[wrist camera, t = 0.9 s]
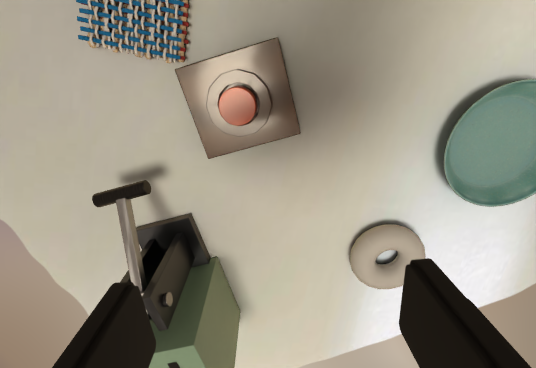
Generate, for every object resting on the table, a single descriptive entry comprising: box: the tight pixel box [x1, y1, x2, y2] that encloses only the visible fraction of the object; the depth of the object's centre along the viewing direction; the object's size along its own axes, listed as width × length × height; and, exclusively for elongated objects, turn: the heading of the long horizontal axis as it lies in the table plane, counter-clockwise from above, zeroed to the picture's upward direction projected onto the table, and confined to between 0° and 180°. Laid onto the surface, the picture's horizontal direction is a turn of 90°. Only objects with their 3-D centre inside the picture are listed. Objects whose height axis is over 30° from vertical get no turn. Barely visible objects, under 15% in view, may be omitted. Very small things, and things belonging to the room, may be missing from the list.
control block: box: [175, 37, 301, 159], centre depth 30 cm, size 10×11×4 cm
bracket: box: [120, 213, 210, 331], centre depth 34 cm, size 8×8×13 cm
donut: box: [350, 225, 425, 289], centre depth 38 cm, size 10×3×10 cm
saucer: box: [444, 79, 536, 207], centre depth 33 cm, size 15×15×3 cm
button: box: [219, 86, 257, 126], centre depth 28 cm, size 4×4×2 cm
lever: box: [92, 180, 152, 320], centre depth 30 cm, size 14×6×2 cm, turn 17°
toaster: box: [149, 257, 240, 368], centre depth 36 cm, size 11×10×14 cm
